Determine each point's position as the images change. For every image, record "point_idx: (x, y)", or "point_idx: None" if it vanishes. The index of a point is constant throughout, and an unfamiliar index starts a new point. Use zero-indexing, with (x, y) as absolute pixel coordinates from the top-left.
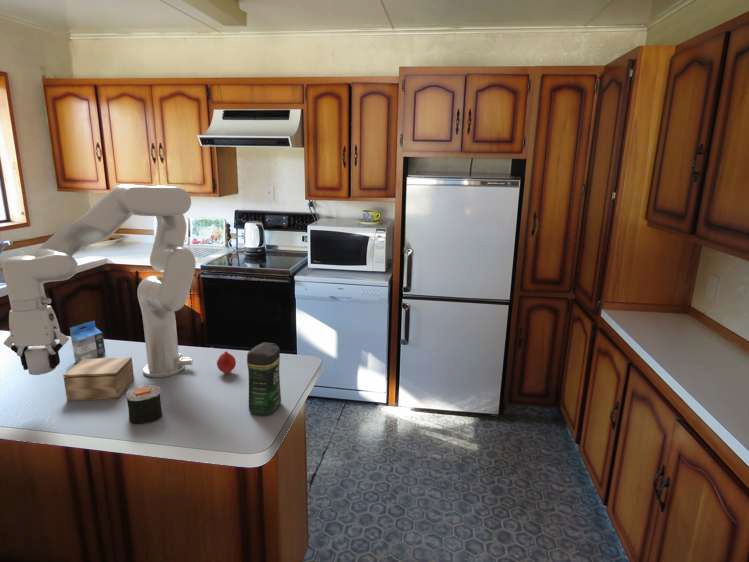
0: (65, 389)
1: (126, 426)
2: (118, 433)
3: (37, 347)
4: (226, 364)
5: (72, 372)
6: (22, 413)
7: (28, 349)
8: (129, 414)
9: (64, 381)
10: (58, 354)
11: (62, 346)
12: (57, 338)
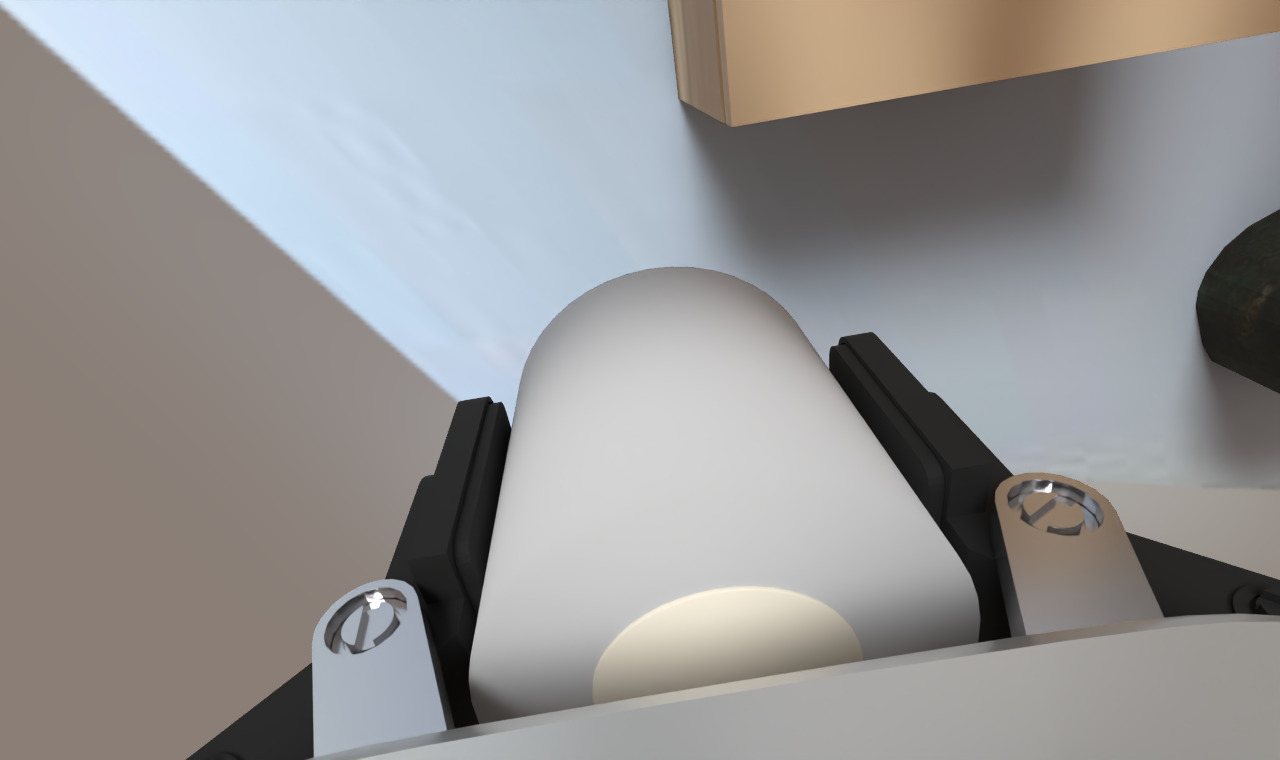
0: (696, 106)
1: (1187, 387)
2: (1154, 447)
3: (646, 633)
4: None
5: (807, 34)
6: (480, 312)
7: (511, 704)
8: (1257, 374)
9: (716, 116)
10: (1000, 472)
11: (1236, 569)
12: (1276, 617)
